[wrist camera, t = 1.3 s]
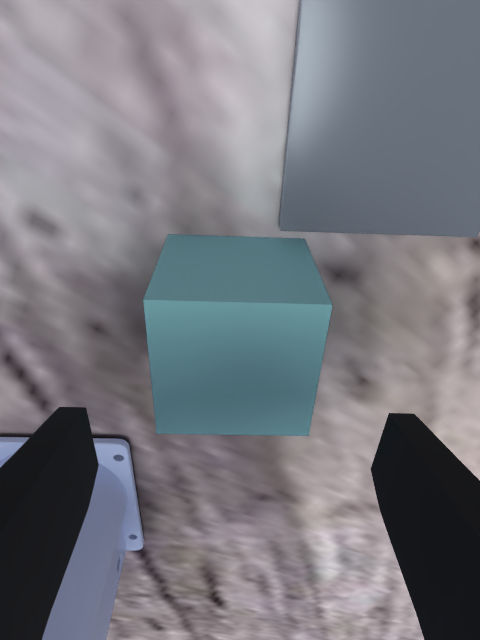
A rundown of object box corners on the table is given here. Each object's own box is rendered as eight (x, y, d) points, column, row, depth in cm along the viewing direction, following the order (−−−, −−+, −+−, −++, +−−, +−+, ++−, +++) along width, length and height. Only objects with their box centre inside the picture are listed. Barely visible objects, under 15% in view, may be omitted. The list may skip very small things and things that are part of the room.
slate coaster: (468, 231, 15) (477, 236, 14) (278, 224, 15) (280, 230, 14) (555, -14, 11) (570, -19, 11) (302, -28, 11) (305, -33, 10)
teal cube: (289, 347, 18) (308, 435, 13) (174, 344, 17) (156, 433, 13) (303, 238, 15) (332, 304, 11) (168, 233, 15) (142, 299, 11)
